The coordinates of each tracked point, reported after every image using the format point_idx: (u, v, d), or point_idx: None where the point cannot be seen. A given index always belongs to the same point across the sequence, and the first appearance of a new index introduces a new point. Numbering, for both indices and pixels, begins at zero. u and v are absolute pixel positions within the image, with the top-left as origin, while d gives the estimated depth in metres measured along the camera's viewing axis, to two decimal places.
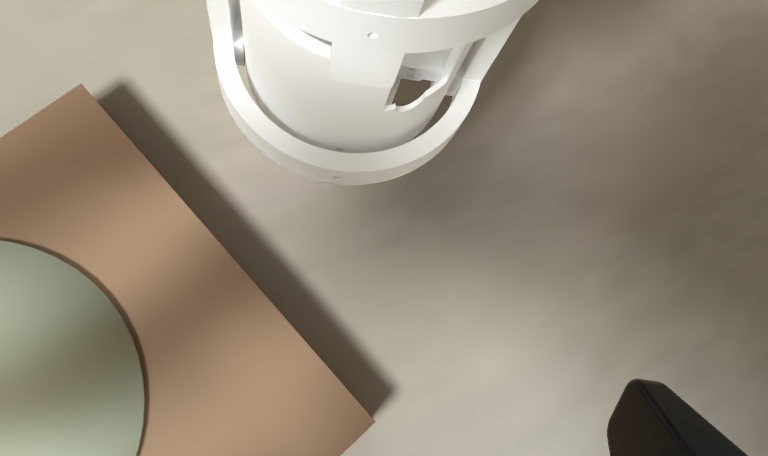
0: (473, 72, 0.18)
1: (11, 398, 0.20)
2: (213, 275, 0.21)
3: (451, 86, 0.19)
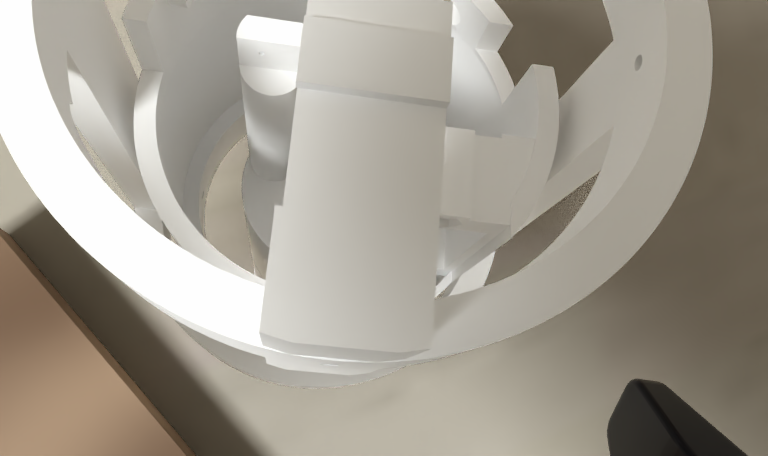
0: None
1: None
2: None
3: None
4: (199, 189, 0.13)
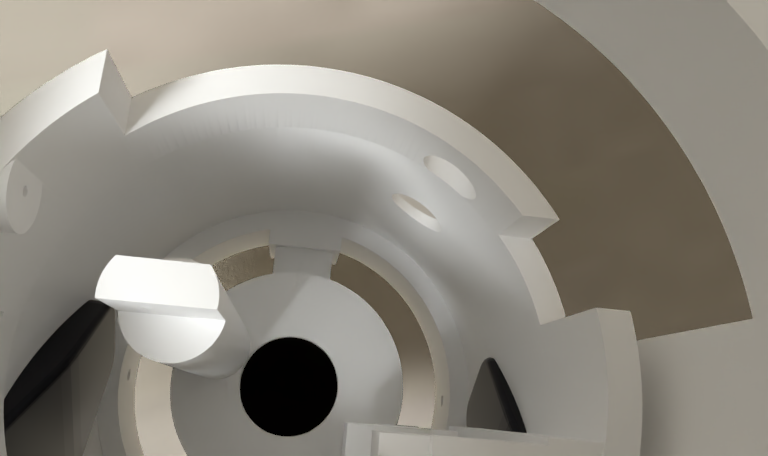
0: None
1: None
2: None
3: None
4: (119, 377, 0.10)
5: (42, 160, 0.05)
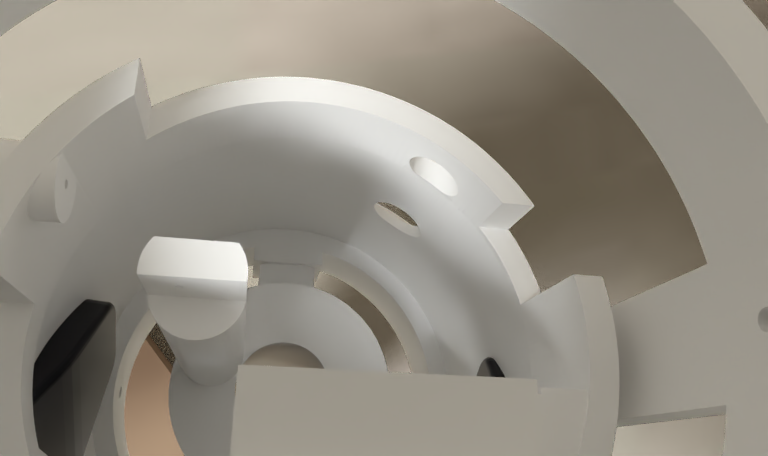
0: None
1: None
2: None
3: None
4: (113, 392, 0.10)
5: (80, 157, 0.06)
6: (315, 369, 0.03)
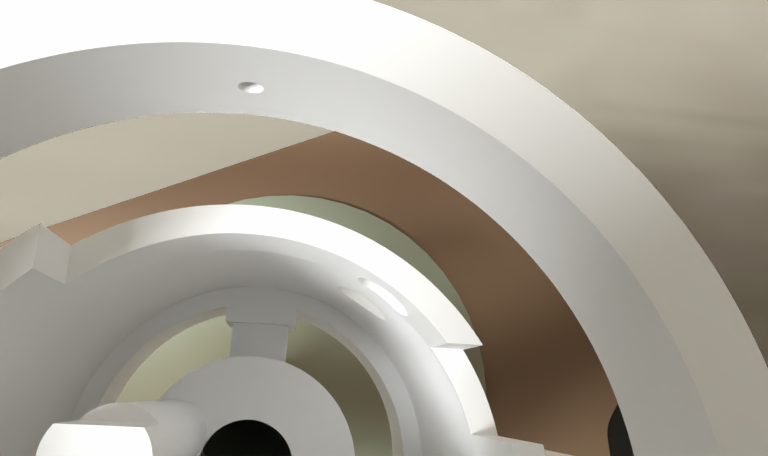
0: None
1: (349, 393, 0.17)
2: (579, 330, 0.19)
3: None
4: None
5: None
6: None
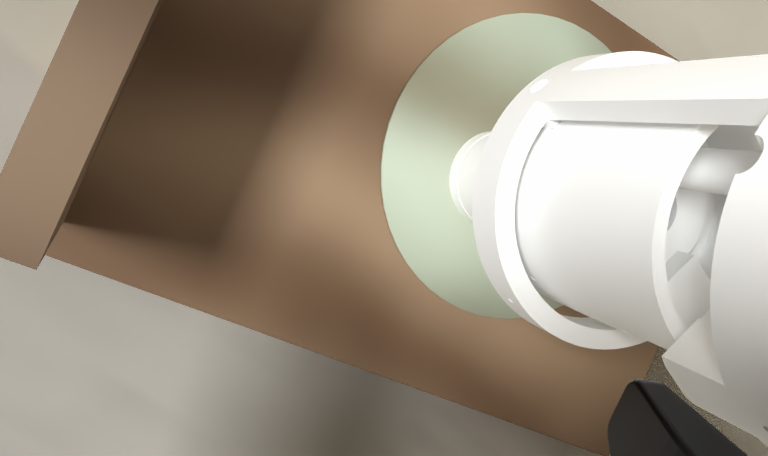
0: None
1: None
2: None
3: None
4: None
5: None
6: None
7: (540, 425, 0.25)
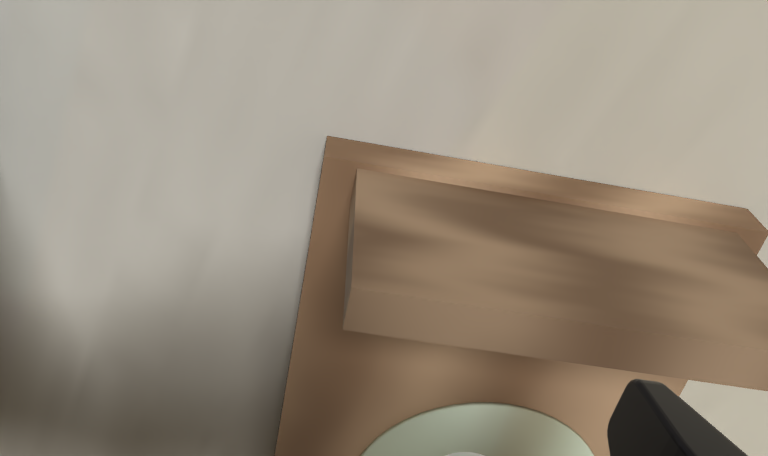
0: None
1: None
2: None
3: None
4: None
5: None
6: None
7: None
